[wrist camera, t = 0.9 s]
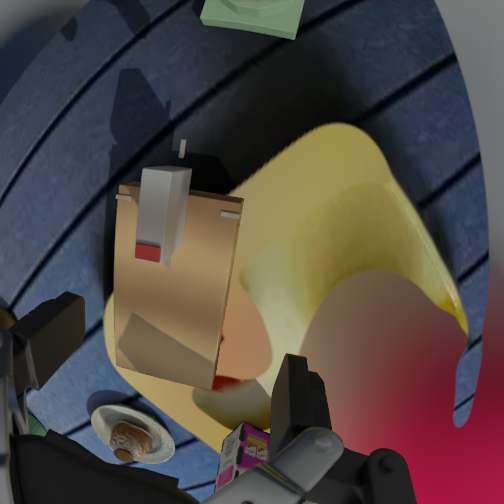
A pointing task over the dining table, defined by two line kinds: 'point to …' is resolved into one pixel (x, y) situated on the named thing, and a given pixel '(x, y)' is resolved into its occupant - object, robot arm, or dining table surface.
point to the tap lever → (161, 212)
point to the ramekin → (35, 426)
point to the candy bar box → (242, 453)
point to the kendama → (6, 319)
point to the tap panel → (175, 290)
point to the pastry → (132, 434)
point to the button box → (255, 15)
